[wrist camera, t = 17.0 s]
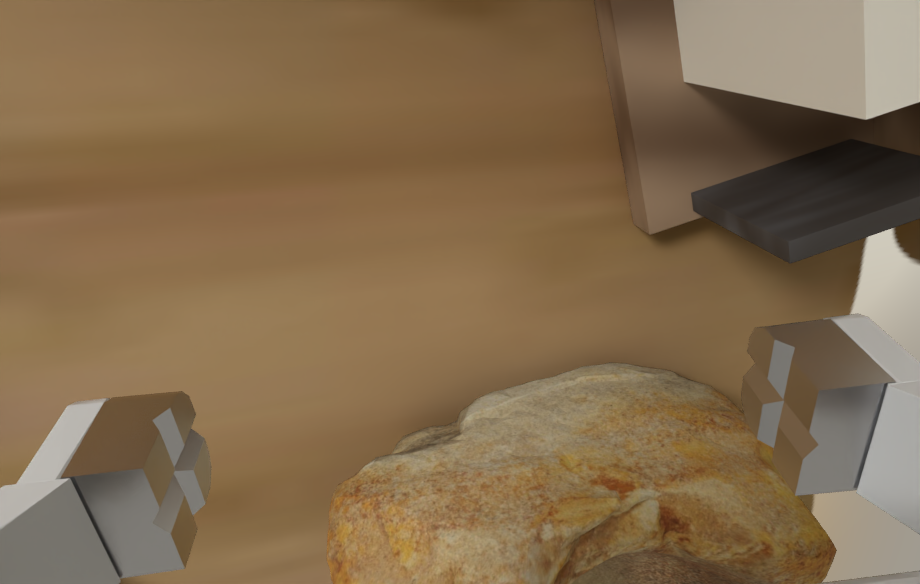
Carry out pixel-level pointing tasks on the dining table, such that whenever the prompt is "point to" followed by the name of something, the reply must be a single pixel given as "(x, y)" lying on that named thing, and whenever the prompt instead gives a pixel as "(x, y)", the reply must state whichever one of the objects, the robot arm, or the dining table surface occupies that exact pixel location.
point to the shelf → (748, 149)
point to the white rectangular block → (805, 51)
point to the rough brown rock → (579, 493)
